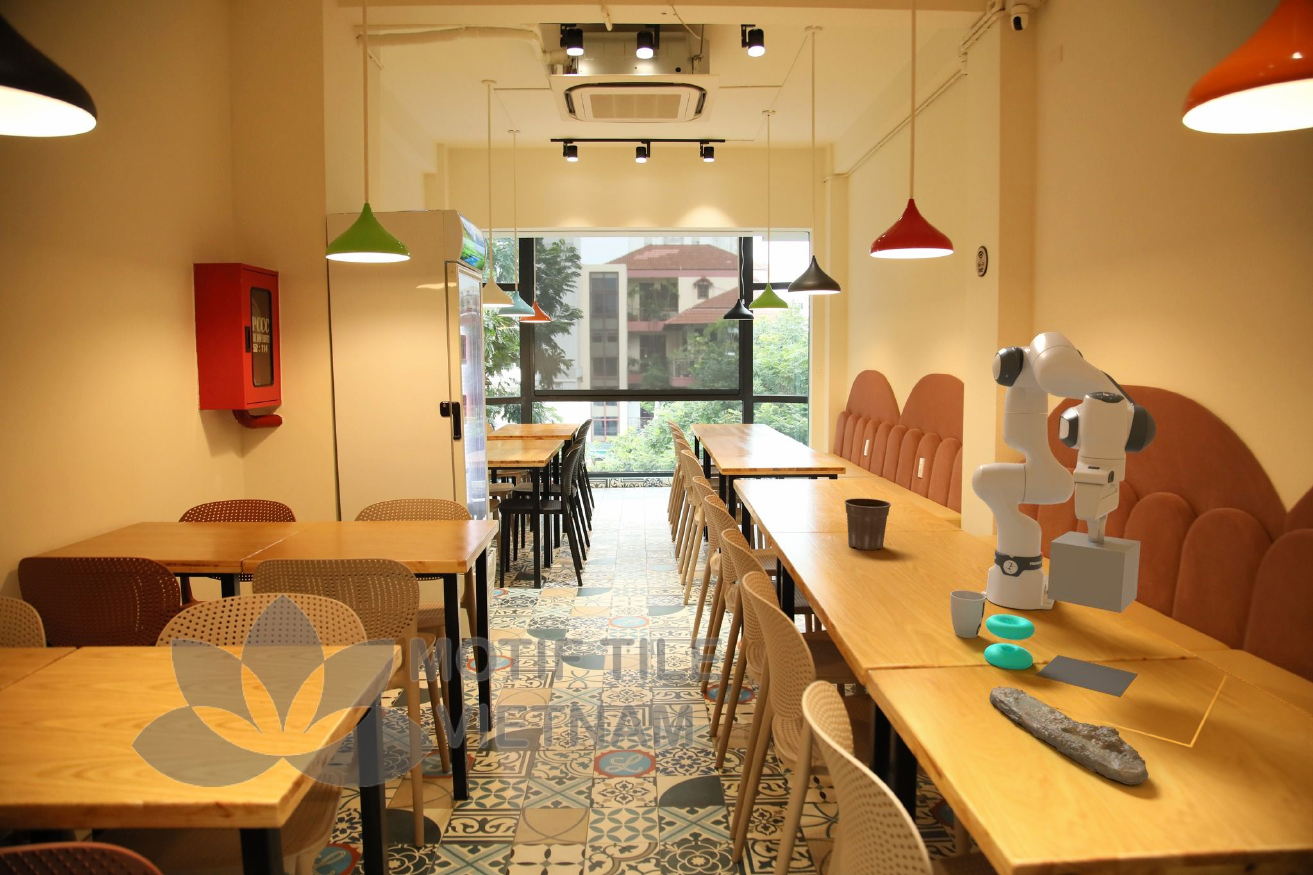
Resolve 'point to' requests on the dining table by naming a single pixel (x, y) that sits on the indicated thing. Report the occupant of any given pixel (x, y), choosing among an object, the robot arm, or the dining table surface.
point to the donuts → (1011, 630)
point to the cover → (1094, 570)
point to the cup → (967, 612)
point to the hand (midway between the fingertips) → (1096, 535)
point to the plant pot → (866, 522)
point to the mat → (1088, 675)
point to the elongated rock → (1073, 736)
